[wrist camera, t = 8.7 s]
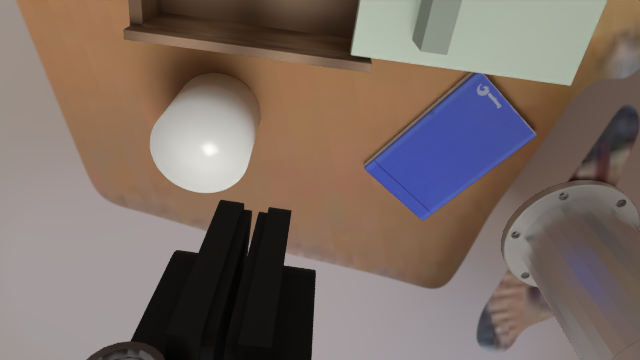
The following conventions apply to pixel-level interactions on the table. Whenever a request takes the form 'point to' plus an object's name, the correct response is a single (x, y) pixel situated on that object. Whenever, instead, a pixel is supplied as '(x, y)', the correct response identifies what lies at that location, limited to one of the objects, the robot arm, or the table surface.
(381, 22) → the lid
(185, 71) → the table surface
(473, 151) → the blue book
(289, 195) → the table surface
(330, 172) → the table surface
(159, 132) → the white round canister
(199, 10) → the walnut box
